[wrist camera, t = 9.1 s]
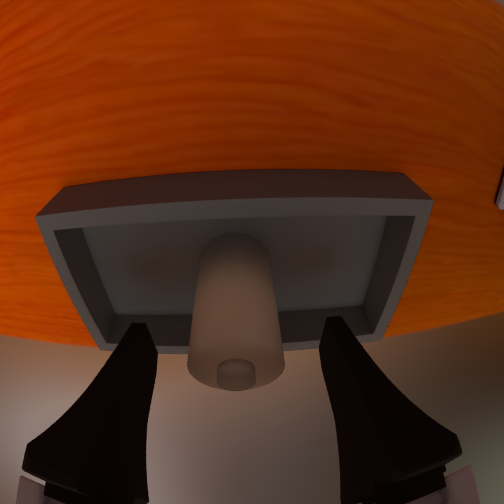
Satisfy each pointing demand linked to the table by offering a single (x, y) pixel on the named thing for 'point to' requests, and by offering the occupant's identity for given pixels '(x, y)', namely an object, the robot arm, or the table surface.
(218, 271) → the cell
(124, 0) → the table surface
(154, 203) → the trough
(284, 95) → the table surface
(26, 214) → the table surface
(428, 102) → the table surface
